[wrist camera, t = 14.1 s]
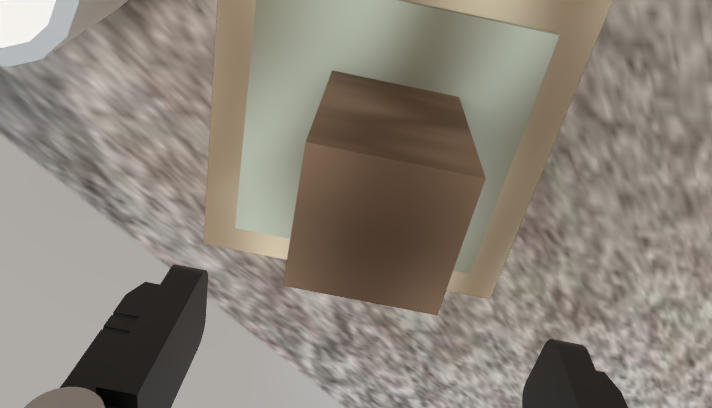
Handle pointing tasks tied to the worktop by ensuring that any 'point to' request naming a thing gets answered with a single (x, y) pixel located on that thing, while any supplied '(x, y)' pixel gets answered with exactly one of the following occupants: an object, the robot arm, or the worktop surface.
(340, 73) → the walnut block
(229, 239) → the plinth
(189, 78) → the worktop surface
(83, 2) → the white cup
